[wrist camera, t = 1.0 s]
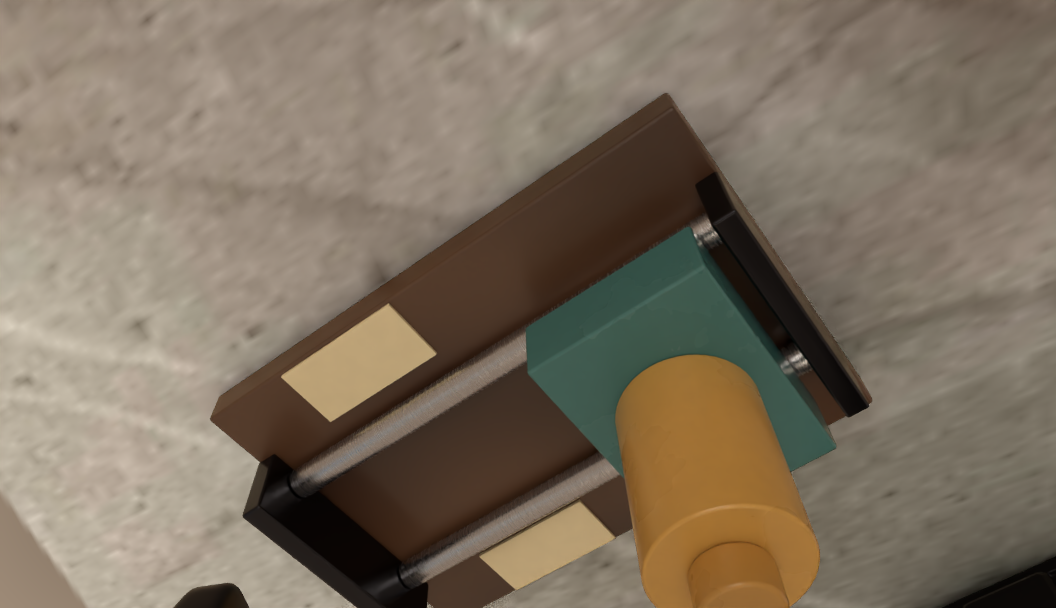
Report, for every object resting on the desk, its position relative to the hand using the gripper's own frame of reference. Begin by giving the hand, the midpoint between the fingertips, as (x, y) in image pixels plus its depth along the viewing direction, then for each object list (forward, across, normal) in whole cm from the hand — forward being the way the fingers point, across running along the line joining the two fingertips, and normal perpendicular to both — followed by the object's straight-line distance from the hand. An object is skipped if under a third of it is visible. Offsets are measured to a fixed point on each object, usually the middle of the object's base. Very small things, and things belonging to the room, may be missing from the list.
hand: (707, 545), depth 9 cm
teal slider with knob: (+12, -1, +7) cm, 13 cm away
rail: (+14, +2, +8) cm, 16 cm away
